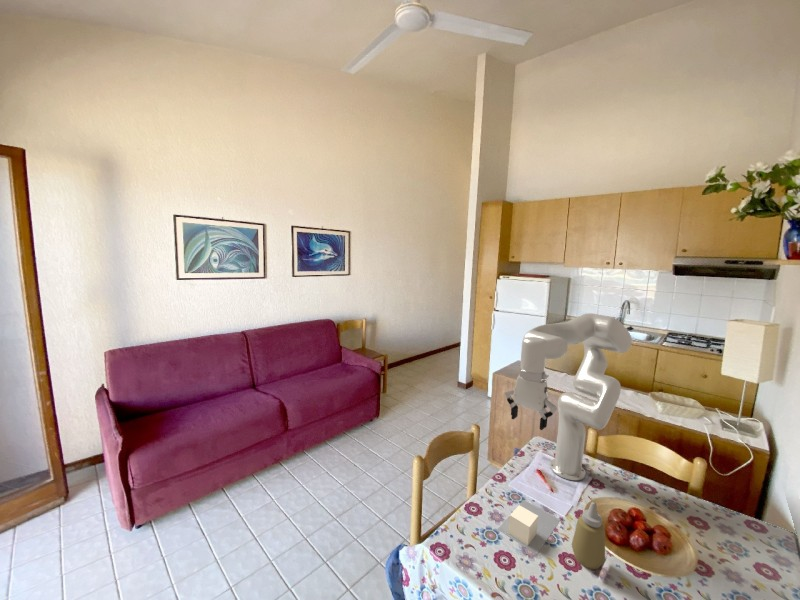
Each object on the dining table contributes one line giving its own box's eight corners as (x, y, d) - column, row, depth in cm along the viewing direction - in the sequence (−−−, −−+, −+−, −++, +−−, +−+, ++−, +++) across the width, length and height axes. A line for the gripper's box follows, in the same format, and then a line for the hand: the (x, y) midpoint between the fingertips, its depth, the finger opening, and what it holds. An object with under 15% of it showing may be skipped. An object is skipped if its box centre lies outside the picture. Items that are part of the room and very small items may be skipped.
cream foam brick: (517, 522, 106) (519, 505, 105) (536, 533, 102) (538, 515, 101) (508, 533, 102) (509, 515, 101) (527, 545, 98) (529, 527, 97)
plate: (523, 503, 116) (523, 499, 116) (560, 523, 108) (560, 520, 108) (497, 532, 103) (497, 529, 103) (536, 558, 95) (536, 554, 95)
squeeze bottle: (586, 579, 90) (594, 517, 87) (563, 553, 97) (570, 495, 95) (610, 572, 92) (618, 511, 89) (586, 546, 99) (593, 490, 97)
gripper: (563, 378, 109) (558, 428, 111) (512, 365, 121) (509, 410, 123) (554, 385, 104) (549, 437, 106) (502, 370, 115) (499, 417, 118)
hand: (528, 423), depth 115 cm, fingers open, 9 cm apart
